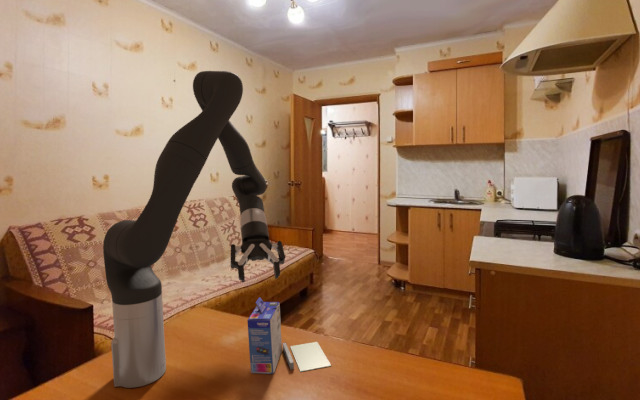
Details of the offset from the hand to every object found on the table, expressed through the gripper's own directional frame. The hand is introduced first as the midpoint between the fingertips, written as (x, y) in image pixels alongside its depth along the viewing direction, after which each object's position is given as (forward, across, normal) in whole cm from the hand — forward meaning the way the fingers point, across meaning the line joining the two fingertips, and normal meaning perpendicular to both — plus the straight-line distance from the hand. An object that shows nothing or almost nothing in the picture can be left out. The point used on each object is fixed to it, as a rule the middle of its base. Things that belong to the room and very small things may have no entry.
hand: (260, 279), depth 86 cm
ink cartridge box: (+19, 0, +4) cm, 20 cm away
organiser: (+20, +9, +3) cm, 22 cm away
